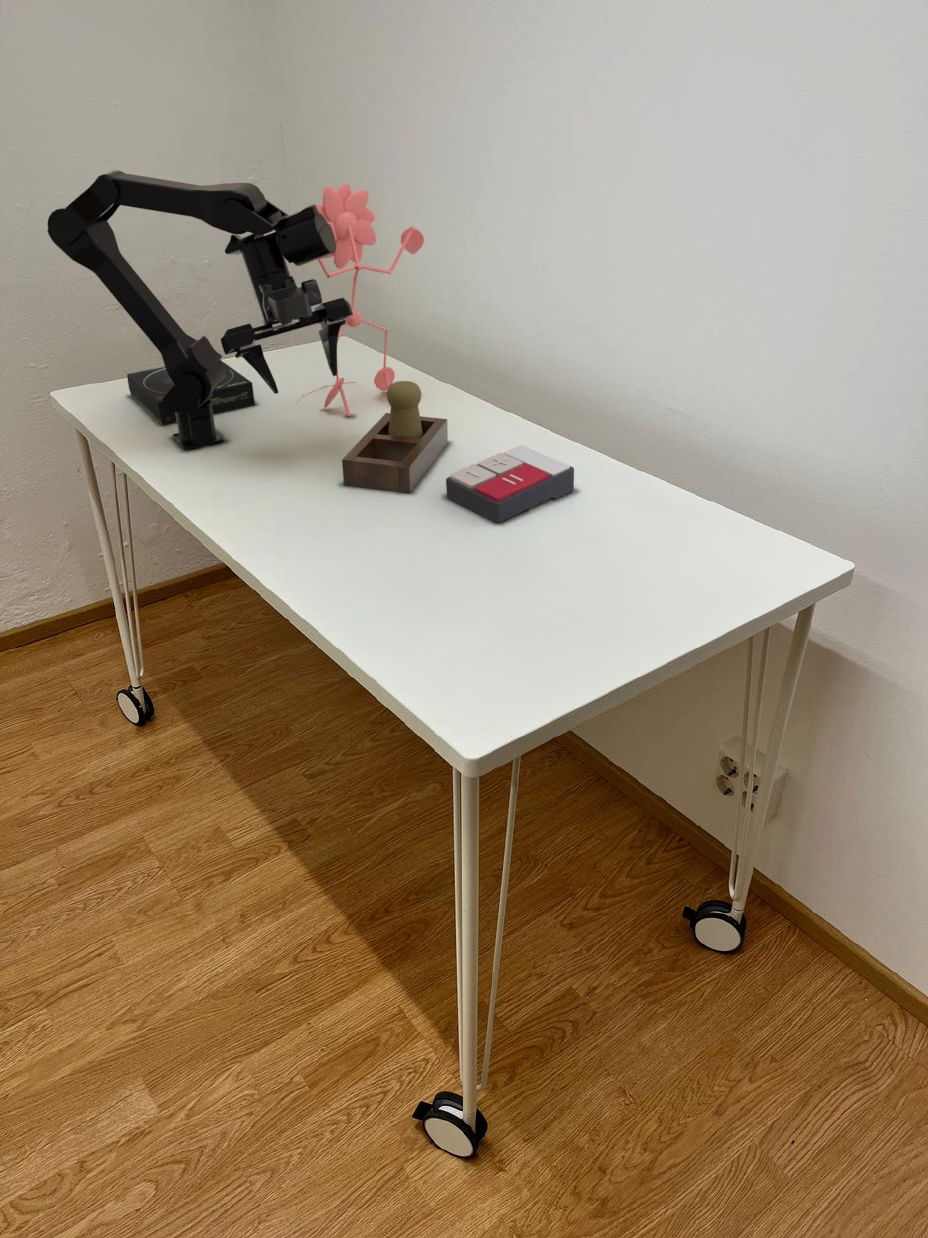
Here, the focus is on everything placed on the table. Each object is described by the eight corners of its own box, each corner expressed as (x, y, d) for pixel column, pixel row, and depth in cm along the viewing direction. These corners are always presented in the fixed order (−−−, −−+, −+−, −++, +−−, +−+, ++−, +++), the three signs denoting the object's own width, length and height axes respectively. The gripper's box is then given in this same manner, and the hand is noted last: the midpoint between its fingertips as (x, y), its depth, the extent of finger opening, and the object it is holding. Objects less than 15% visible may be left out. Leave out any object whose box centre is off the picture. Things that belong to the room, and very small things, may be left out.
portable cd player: (218, 377, 181) (215, 355, 179) (255, 404, 169) (252, 382, 167) (130, 394, 174) (125, 372, 172) (162, 425, 162) (157, 402, 160)
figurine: (437, 395, 173) (433, 180, 154) (309, 430, 160) (287, 200, 141) (389, 372, 183) (379, 168, 164) (265, 402, 170) (239, 185, 151)
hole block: (343, 485, 143) (341, 459, 140) (387, 436, 158) (386, 412, 155) (410, 493, 140) (409, 467, 138) (447, 442, 155) (447, 418, 153)
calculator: (444, 473, 137) (521, 439, 145) (445, 500, 139) (521, 466, 147) (497, 499, 130) (575, 462, 138) (498, 527, 132) (575, 490, 140)
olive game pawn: (386, 445, 155) (383, 377, 149) (424, 443, 155) (422, 375, 149) (387, 460, 150) (383, 391, 144) (426, 459, 150) (424, 389, 144)
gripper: (215, 282, 130) (255, 397, 133) (344, 248, 135) (380, 359, 139) (204, 297, 140) (242, 404, 144) (325, 265, 146) (358, 369, 149)
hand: (306, 384), depth 144 cm, fingers open, 9 cm apart
